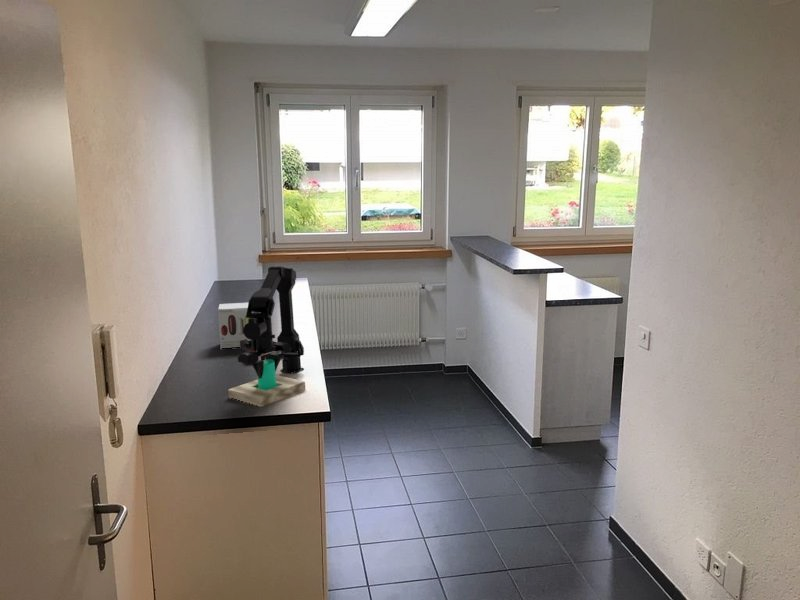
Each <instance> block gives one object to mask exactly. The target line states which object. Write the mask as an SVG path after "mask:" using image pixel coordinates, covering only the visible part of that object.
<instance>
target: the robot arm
mask: <svg viewBox="0 0 800 600" xmlns="http://www.w3.org/2000/svg"><path fill="white" fill-rule="evenodd" d="M296 280H297V272H296V270H294V269H293V267H285V266H281V265H271V266H269V267H268V268H267V274H266V276H265V279H263V281H262V285H261V287H260V288H259V289H258V290H256V291H254V292H253V294H252V295H251V296H250V298H249V300H248V302H249V303H248V309H247V314H246V318H249V319H248V322H249V323H247V324H246V325H245V326H244V329H243V333H244V335H245V337H246V338H248V339H250V341H248V340H247V339H244V340H241V341H240V347H241V348H240V349H241V351H243V350H244V351H243V352H240V353H239V354H238V355H237V362H238V363H242V364H247V365H252V367H253V369H254V371H255V374H256V376H257V375H258V376H257V379H258V378H259V379H260V378H262V375H263V366H264V361H263V360H261V356H265V355H267V356H268V358H269V359H272V360H274V363H275V372H276V371H277V368H278V366H279V364H280V362H282V364H281V365H282V368H281V369H280V370H279V371H280V372H284V373H288V374H295V373H297V372H300V371H303V370H304V369H305V368H304V367H302V365H301V364H302V363H301V356H304V354H305V348H304V345H303V344H302V341H301V339H300V335H299V334H298V331H296V329H295V323H294V310H293V309H294V308H293V307H294V306H293V294H292V292H293V291H292V290H293V289H294V287H295V285H296ZM276 291H277V292H278V299H279V301H278V302H279V313H280V329H281V331H280V332H279V335H278V336H277V338H276V334H273V324H272V317H273V312H274V309H275V304H276V303H275V300H274V298H273V297H274V295H275V293H276ZM252 311H253V312H254V313H252ZM274 339H277V341H276V342H277V343H274V344H273V341H274ZM249 350H252V351H256V352H255V353H254V352H249ZM261 353H262V354H261Z"/></svg>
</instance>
